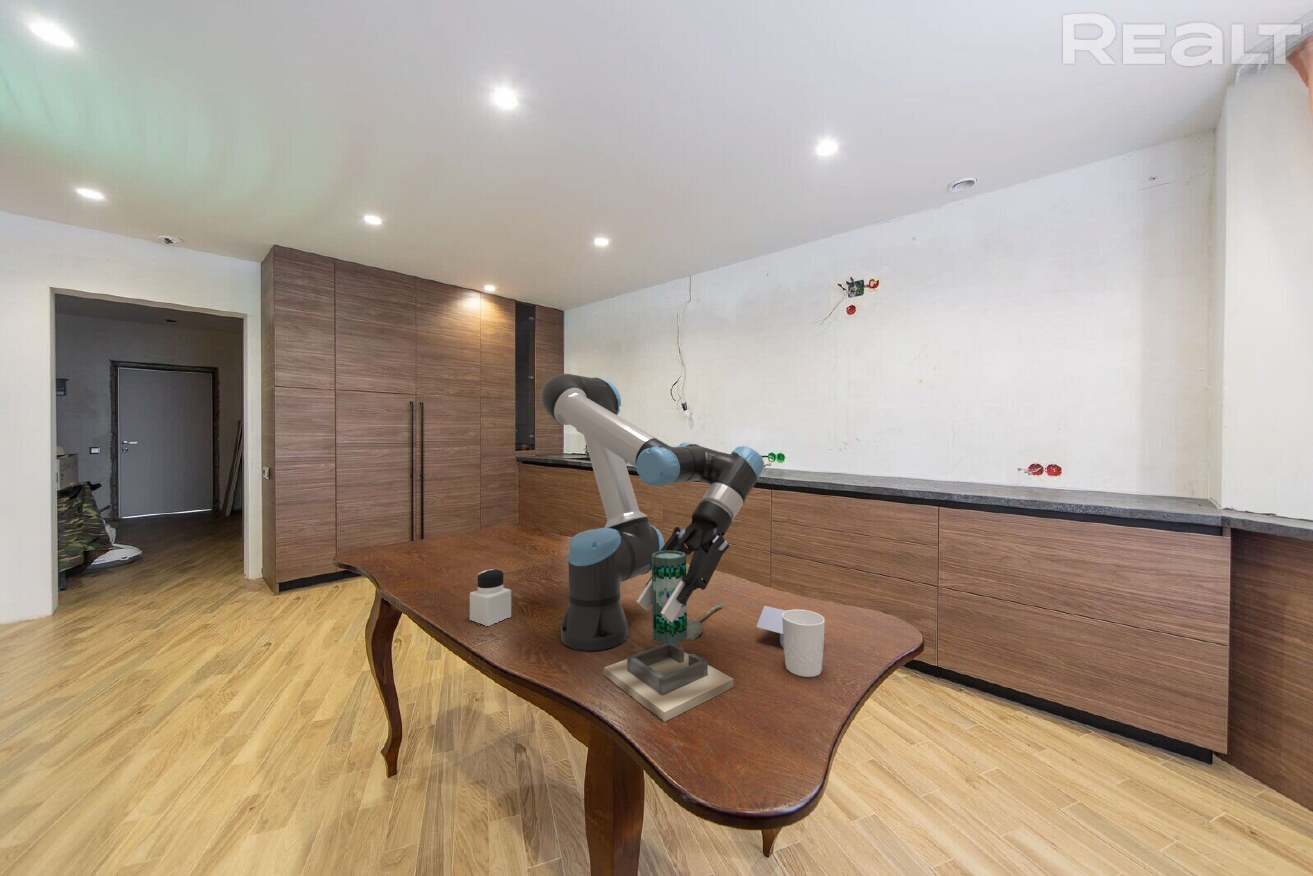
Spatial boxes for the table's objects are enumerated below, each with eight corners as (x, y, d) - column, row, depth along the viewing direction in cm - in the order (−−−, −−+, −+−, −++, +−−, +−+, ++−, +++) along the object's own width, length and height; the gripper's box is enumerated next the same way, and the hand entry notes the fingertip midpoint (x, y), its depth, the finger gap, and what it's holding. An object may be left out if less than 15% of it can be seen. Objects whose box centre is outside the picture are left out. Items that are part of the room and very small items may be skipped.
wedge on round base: (756, 642, 98) (816, 659, 91) (756, 611, 99) (816, 626, 91) (772, 628, 106) (829, 643, 98) (772, 600, 106) (828, 612, 98)
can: (655, 645, 79) (655, 559, 79) (650, 630, 85) (649, 551, 85) (689, 642, 80) (688, 557, 80) (681, 628, 86) (681, 549, 86)
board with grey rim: (604, 675, 85) (604, 654, 85) (669, 650, 94) (669, 631, 94) (664, 722, 70) (664, 696, 70) (733, 687, 80) (733, 664, 80)
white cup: (820, 683, 81) (819, 628, 82) (777, 672, 86) (776, 619, 86) (828, 665, 88) (828, 614, 88) (788, 655, 92) (788, 606, 92)
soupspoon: (668, 640, 102) (694, 648, 99) (668, 626, 102) (694, 633, 98) (709, 606, 121) (732, 612, 117) (709, 594, 121) (732, 599, 117)
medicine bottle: (511, 617, 113) (511, 570, 113) (487, 627, 107) (487, 577, 107) (493, 612, 116) (493, 565, 117) (469, 621, 110) (469, 572, 111)
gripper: (763, 529, 84) (702, 640, 74) (693, 517, 100) (634, 607, 89) (744, 503, 81) (677, 616, 71) (675, 495, 96) (611, 586, 86)
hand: (653, 611), depth 80 cm, fingers closed on can, 6 cm apart
